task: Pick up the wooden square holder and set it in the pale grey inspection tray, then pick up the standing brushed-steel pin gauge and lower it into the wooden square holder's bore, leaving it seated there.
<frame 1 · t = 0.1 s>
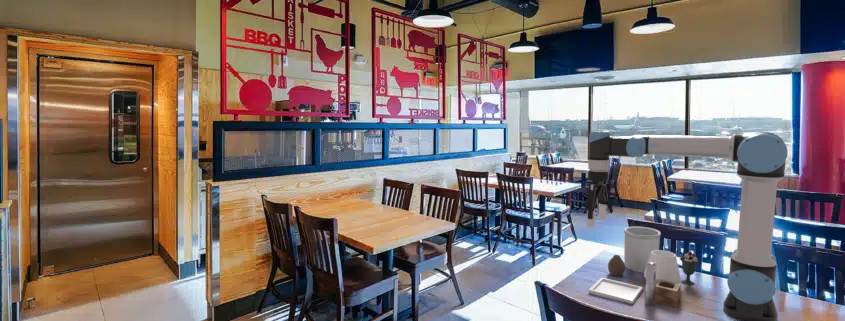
hand: (596, 223, 166), 28 cm above the table, fingers open, 13 cm apart
wooden square holder: (666, 300, 160), on the table
utensil holder: (640, 267, 194), on the table
sundae: (688, 283, 175), on the table
vase: (616, 275, 185), on the table
cup: (661, 286, 173), on the table
tray: (615, 291, 168), on the table
pin: (649, 304, 156), on the table
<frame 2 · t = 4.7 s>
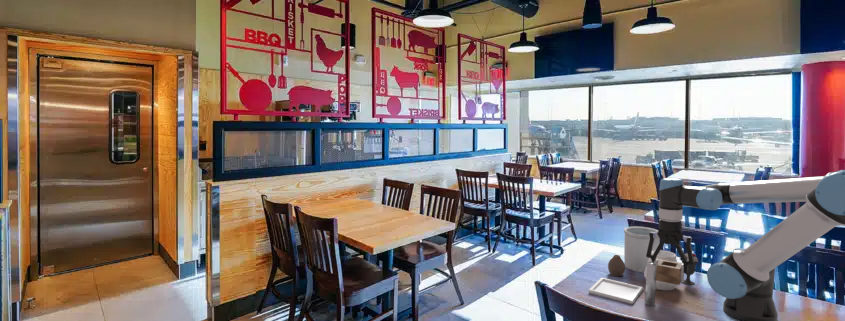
hand: (668, 278, 158), 9 cm above the table, fingers closed on wooden square holder, 8 cm apart
wooden square holder: (668, 279, 158), point 8 cm above the table, touching gripper
everything else where it was.
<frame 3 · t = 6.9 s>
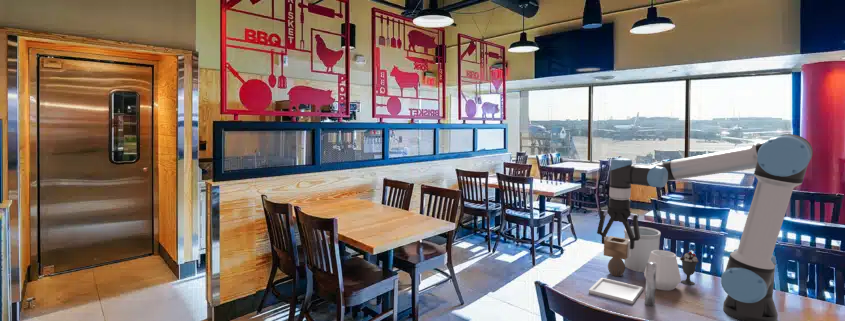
hand: (617, 254, 166), 16 cm above the table, fingers closed on wooden square holder, 8 cm apart
wooden square holder: (617, 254, 166), point 15 cm above the table, touching gripper
everything else where it was.
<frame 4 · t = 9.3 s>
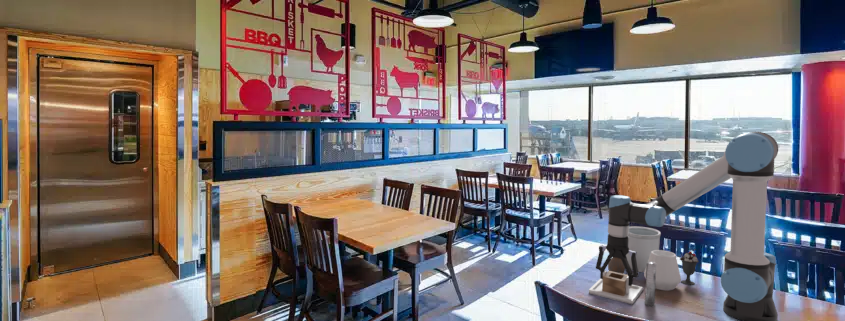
hand: (615, 289, 167), 1 cm above the table, fingers closed on wooden square holder, 8 cm apart
wooden square holder: (615, 290, 168), point 1 cm above the table, touching gripper, tray
everything else where it was.
when the fingers open (2 cm above the table, at t = 10.7 s): wooden square holder stays where it is, resting on tray.
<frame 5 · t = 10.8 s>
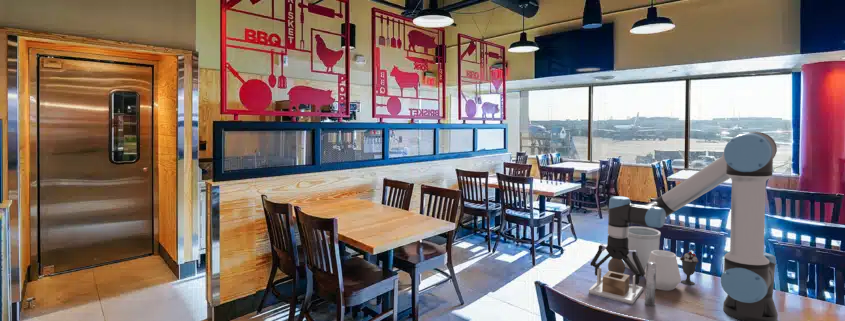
hand: (616, 287, 167), 2 cm above the table, fingers open, 13 cm apart
wooden square holder: (615, 290, 168), point 1 cm above the table, touching tray
everything else where it was.
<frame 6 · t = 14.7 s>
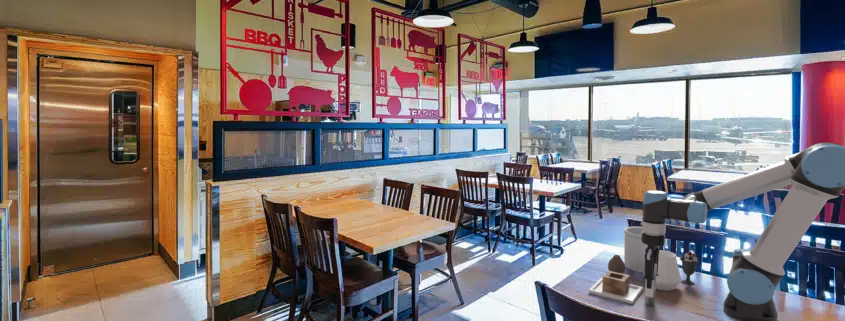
hand: (650, 294, 156), 4 cm above the table, fingers closed on pin, 3 cm apart
pin: (649, 304, 156), on the table, touching gripper
everything else where it was.
when the fingers open (8 cm above the table, at t = 20.6 s): pin drops 3 cm, resting on tray.
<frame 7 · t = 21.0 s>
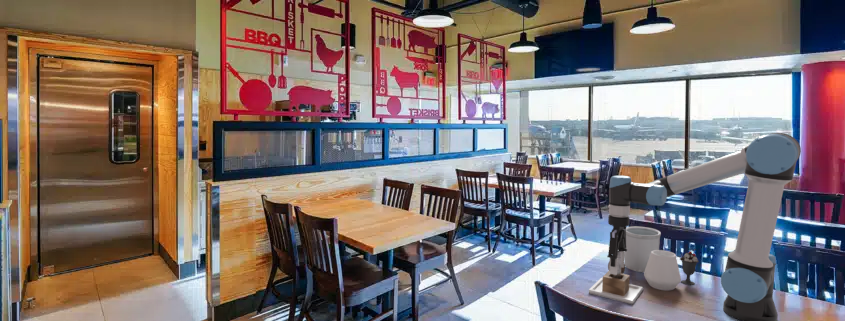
hand: (616, 270, 167), 9 cm above the table, fingers open, 9 cm apart
pin: (615, 290, 167), point 1 cm above the table, touching tray
everything else where it was.
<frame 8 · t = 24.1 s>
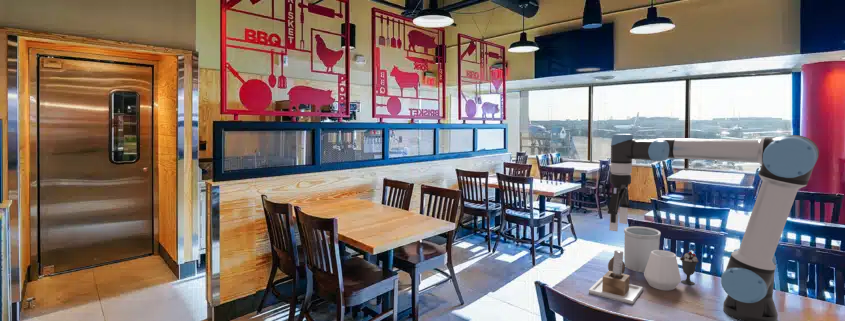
hand: (618, 226, 165), 27 cm above the table, fingers open, 13 cm apart
nothing on the table moved.
at the end: wooden square holder inside the target area on the tray (0.1 cm from its centre), point 0.6 cm above the tray's base; pin 0.1 cm from the wooden square holder (horizontally); pin point 0.7 cm above the table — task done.
